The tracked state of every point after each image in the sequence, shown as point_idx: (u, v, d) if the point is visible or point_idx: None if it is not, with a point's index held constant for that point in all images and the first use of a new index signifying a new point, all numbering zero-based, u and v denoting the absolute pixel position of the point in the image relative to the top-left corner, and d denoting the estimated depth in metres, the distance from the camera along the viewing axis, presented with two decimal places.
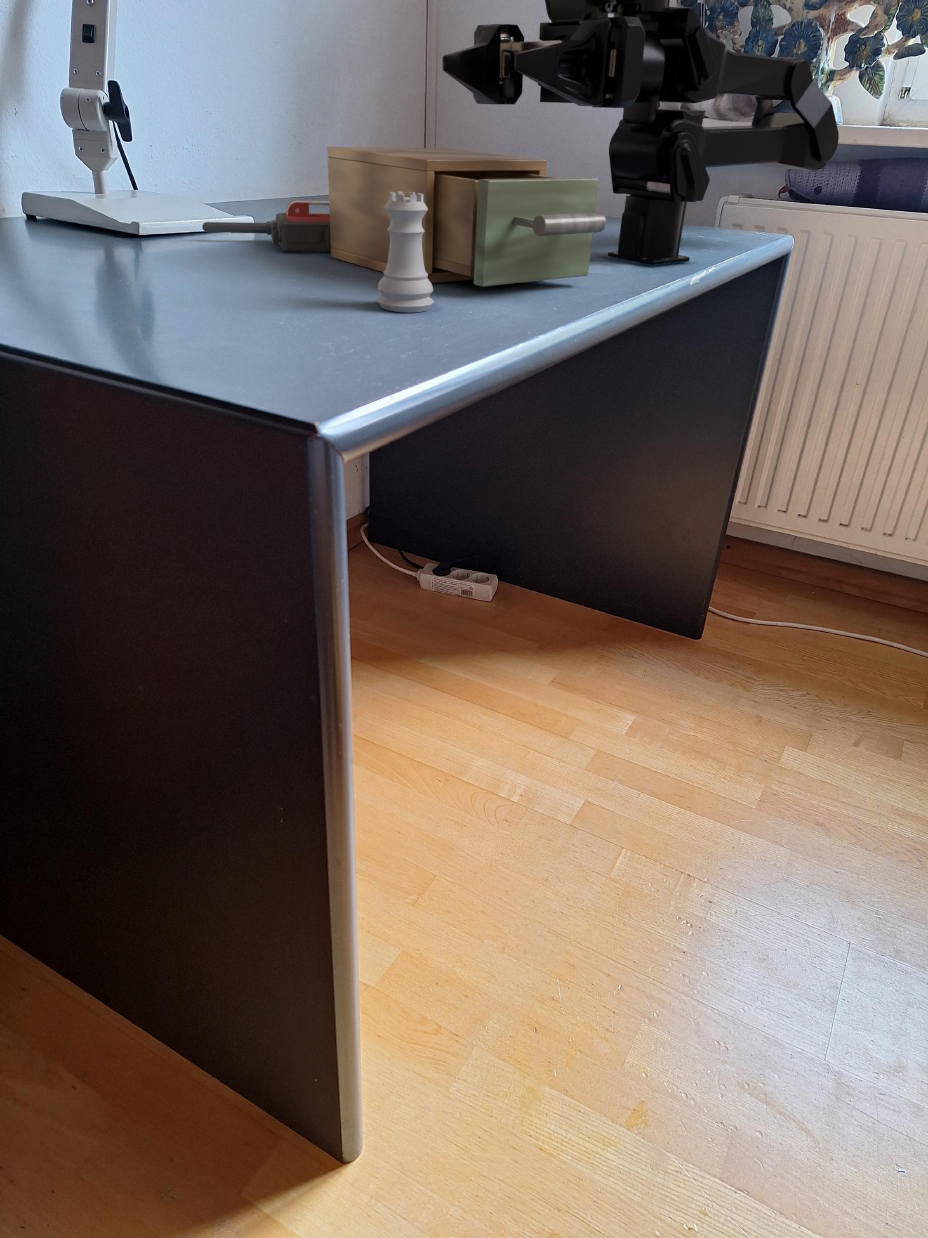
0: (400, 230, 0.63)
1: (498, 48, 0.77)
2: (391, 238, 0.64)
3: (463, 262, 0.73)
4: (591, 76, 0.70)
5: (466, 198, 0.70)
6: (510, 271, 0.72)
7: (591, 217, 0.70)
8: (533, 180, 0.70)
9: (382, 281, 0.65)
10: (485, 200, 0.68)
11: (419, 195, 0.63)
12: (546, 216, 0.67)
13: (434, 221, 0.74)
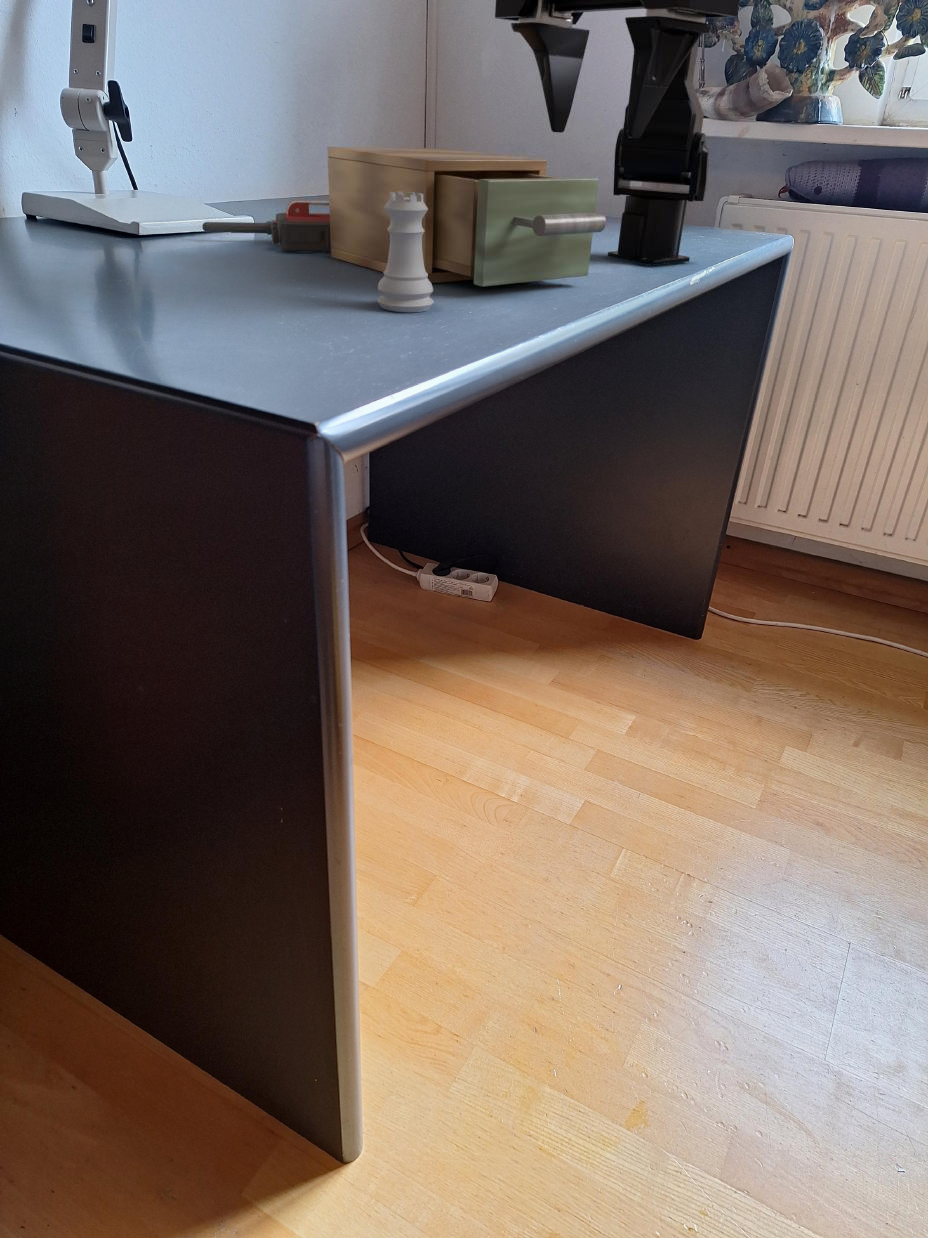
0: (400, 230, 0.63)
1: (550, 28, 0.64)
2: (391, 238, 0.64)
3: (463, 262, 0.73)
4: (680, 31, 0.59)
5: (466, 198, 0.70)
6: (510, 271, 0.72)
7: (591, 217, 0.70)
8: (533, 180, 0.70)
9: (382, 281, 0.65)
10: (485, 200, 0.68)
11: (419, 195, 0.63)
12: (546, 216, 0.67)
13: (434, 221, 0.74)
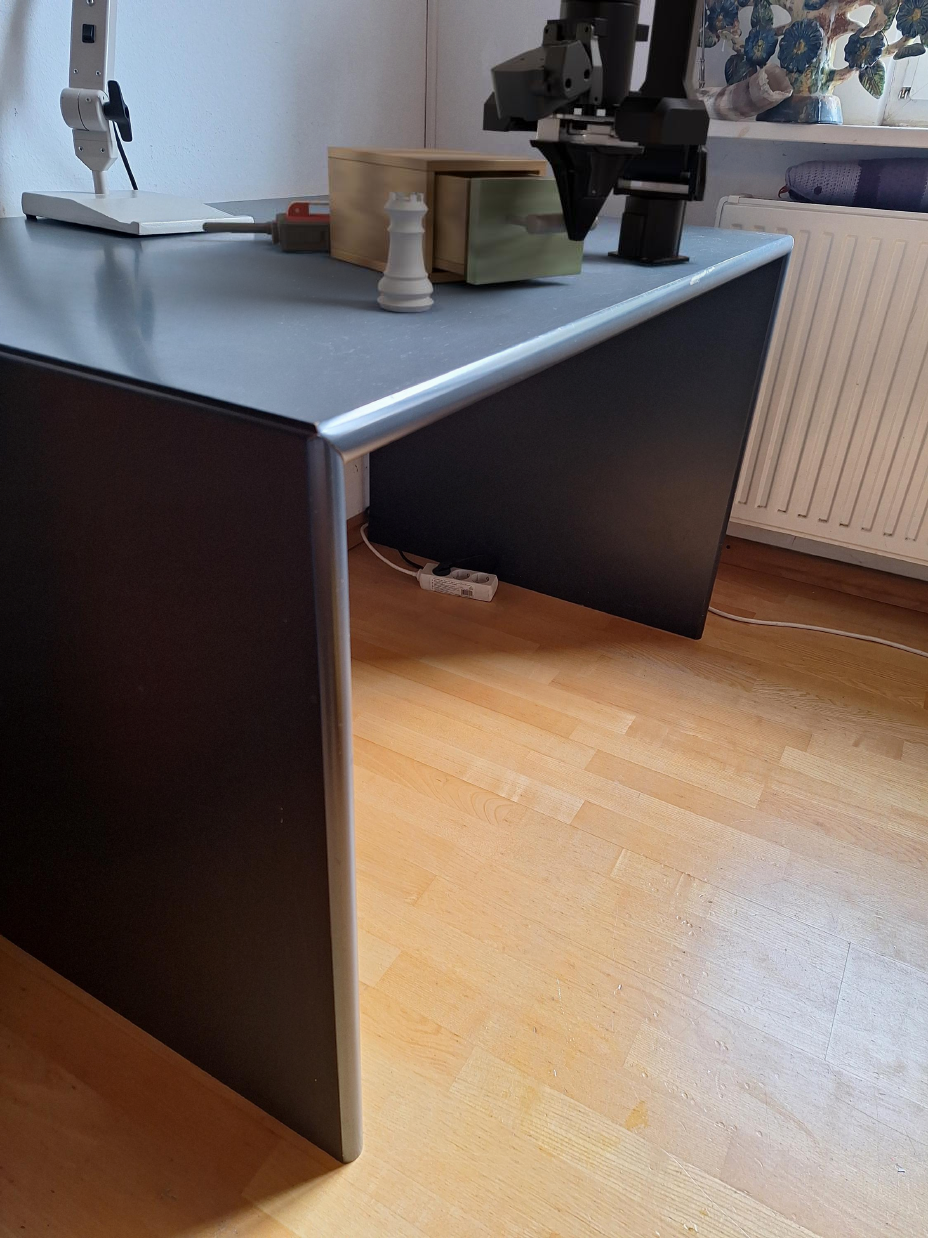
0: (400, 230, 0.63)
1: None
2: (391, 238, 0.64)
3: (456, 260, 0.74)
4: None
5: (459, 197, 0.71)
6: (503, 269, 0.73)
7: None
8: (525, 179, 0.70)
9: (382, 281, 0.65)
10: (477, 199, 0.68)
11: (419, 195, 0.63)
12: (538, 215, 0.68)
13: None
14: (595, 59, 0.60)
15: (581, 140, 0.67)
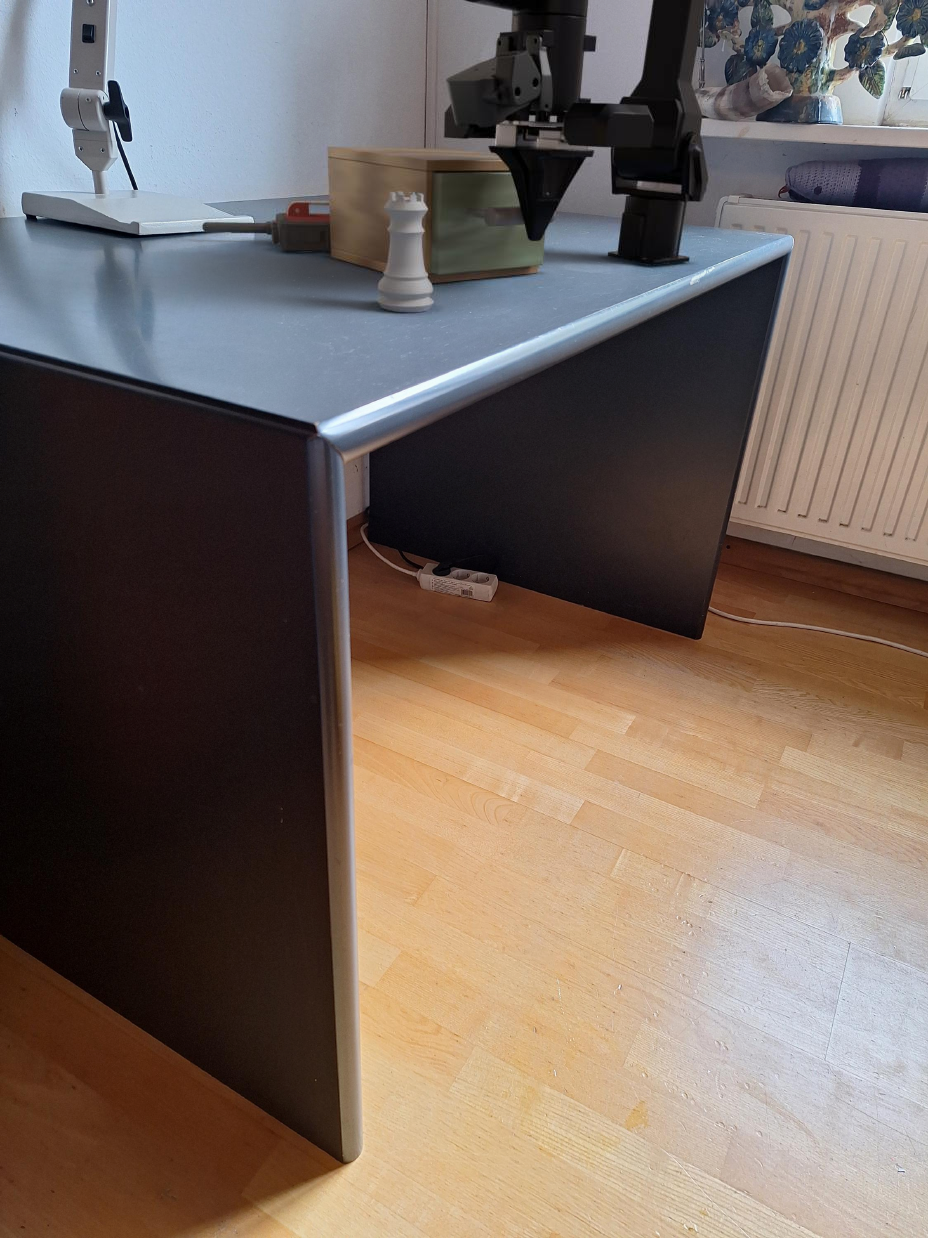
0: (400, 230, 0.63)
1: None
2: (391, 238, 0.64)
3: None
4: None
5: None
6: (465, 260, 0.76)
7: None
8: (485, 173, 0.74)
9: (382, 281, 0.65)
10: (439, 192, 0.72)
11: (419, 195, 0.63)
12: (496, 207, 0.71)
13: None
14: (544, 68, 0.64)
15: None
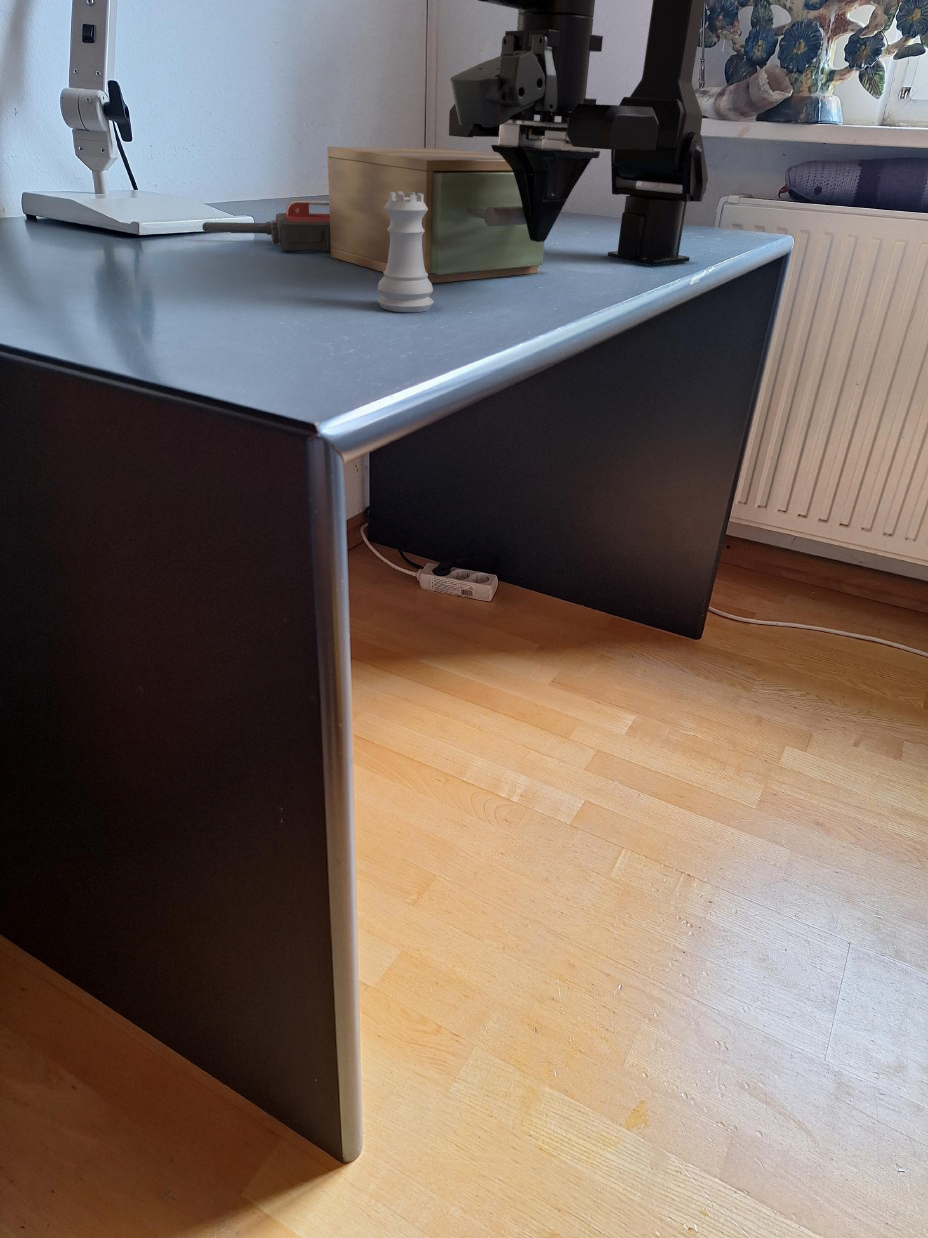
0: (400, 230, 0.63)
1: None
2: (391, 238, 0.64)
3: None
4: None
5: None
6: (465, 260, 0.76)
7: None
8: (485, 173, 0.74)
9: (382, 281, 0.65)
10: (439, 192, 0.72)
11: (419, 195, 0.63)
12: (496, 207, 0.71)
13: None
14: (549, 68, 0.63)
15: (541, 145, 0.70)
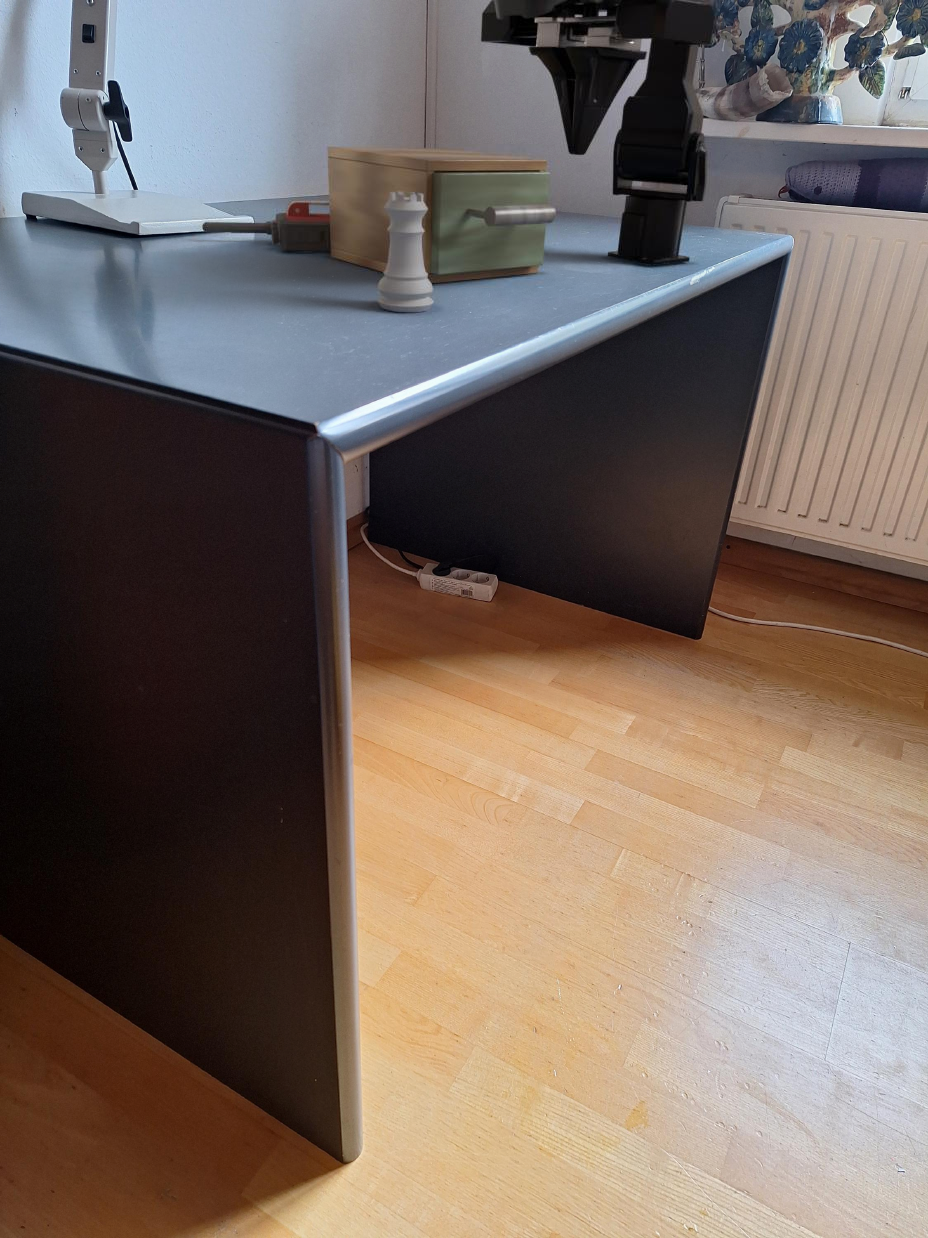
0: (400, 230, 0.63)
1: None
2: (391, 238, 0.64)
3: None
4: (617, 57, 0.64)
5: None
6: (465, 260, 0.76)
7: (541, 209, 0.74)
8: (485, 173, 0.74)
9: (382, 281, 0.65)
10: (439, 192, 0.72)
11: (419, 195, 0.63)
12: (496, 207, 0.71)
13: None
14: None
15: None
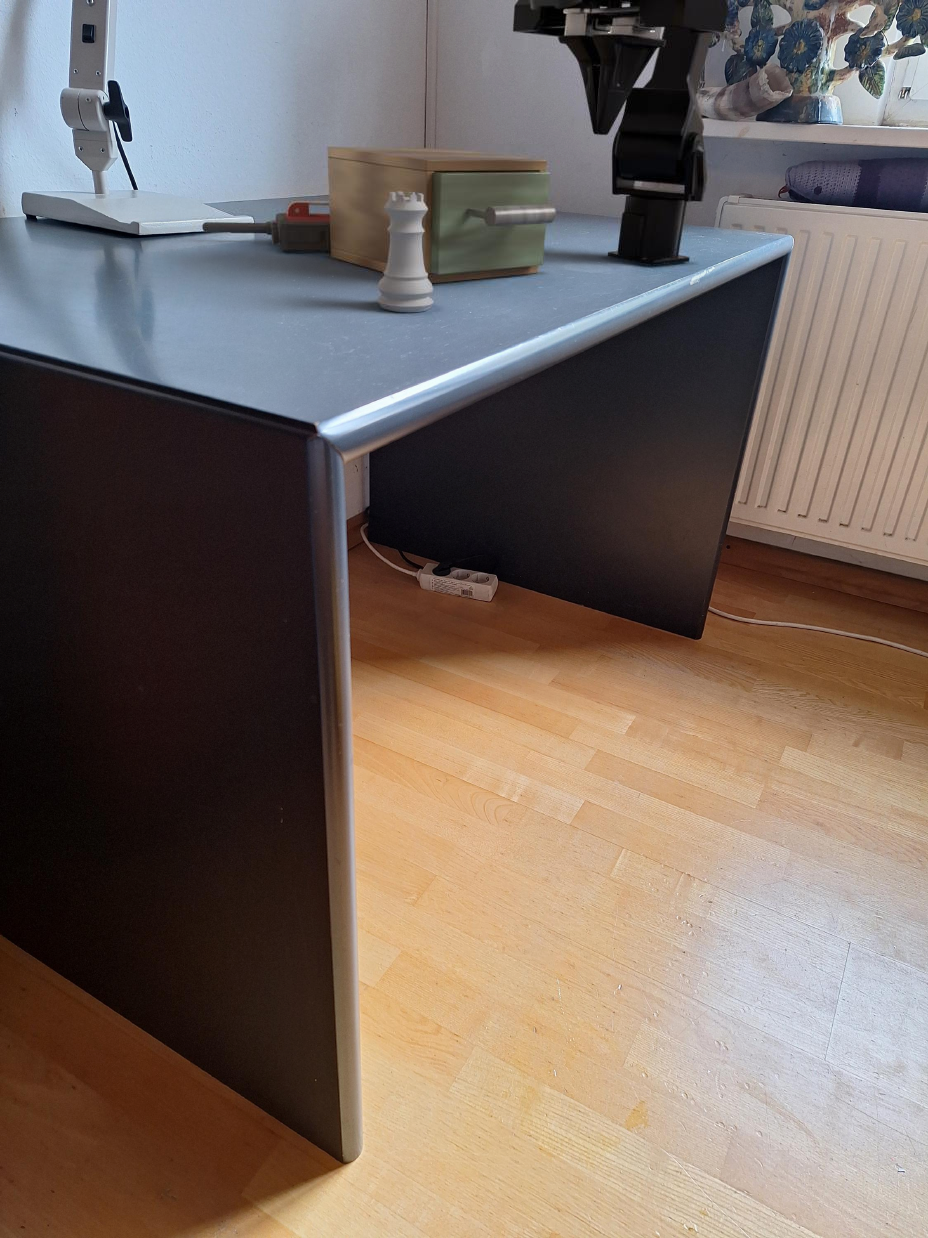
0: (400, 230, 0.63)
1: None
2: (391, 238, 0.64)
3: None
4: (639, 45, 0.70)
5: None
6: (465, 260, 0.76)
7: (541, 209, 0.74)
8: (485, 173, 0.74)
9: (382, 281, 0.65)
10: (439, 192, 0.72)
11: (419, 195, 0.63)
12: (496, 207, 0.71)
13: None
14: None
15: None
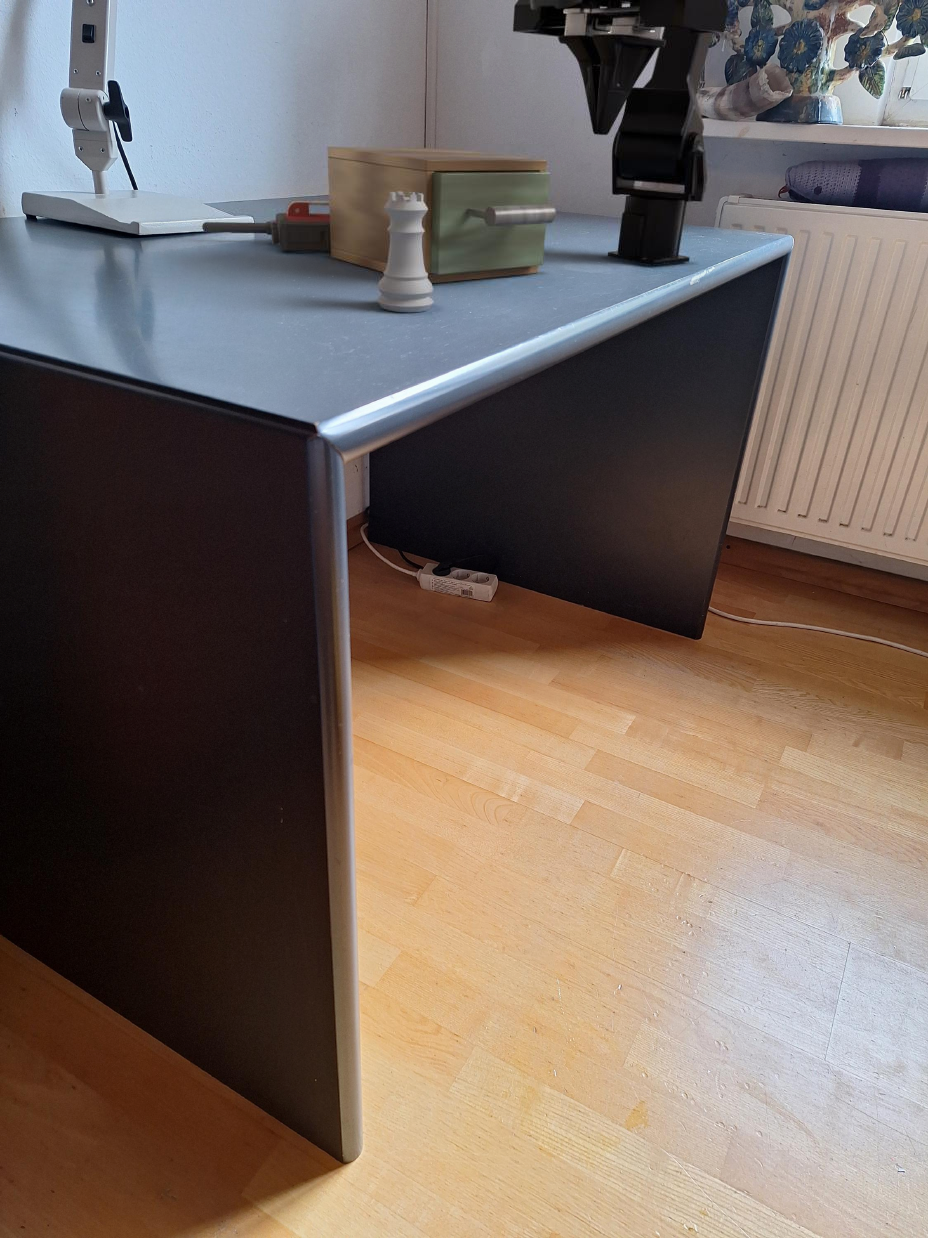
0: (400, 230, 0.63)
1: None
2: (391, 238, 0.64)
3: None
4: (639, 45, 0.70)
5: None
6: (465, 260, 0.76)
7: (541, 209, 0.74)
8: (485, 173, 0.74)
9: (382, 281, 0.65)
10: (439, 192, 0.72)
11: (419, 195, 0.63)
12: (496, 207, 0.71)
13: None
14: None
15: None
